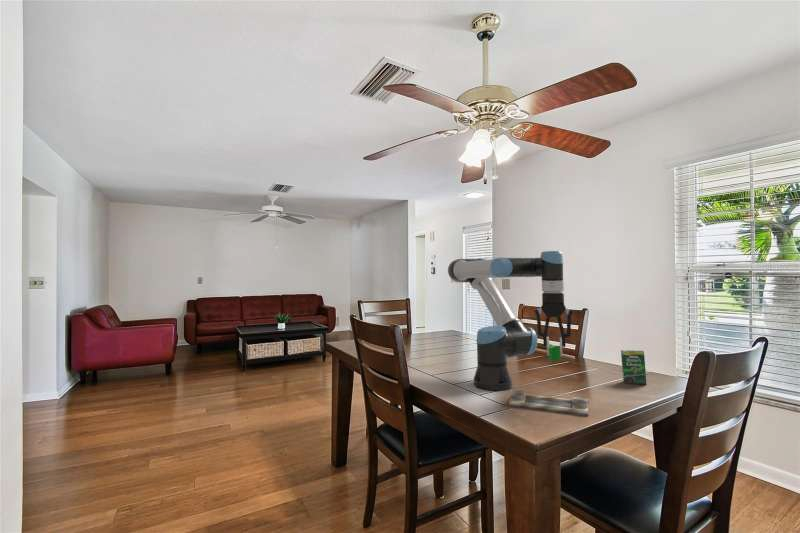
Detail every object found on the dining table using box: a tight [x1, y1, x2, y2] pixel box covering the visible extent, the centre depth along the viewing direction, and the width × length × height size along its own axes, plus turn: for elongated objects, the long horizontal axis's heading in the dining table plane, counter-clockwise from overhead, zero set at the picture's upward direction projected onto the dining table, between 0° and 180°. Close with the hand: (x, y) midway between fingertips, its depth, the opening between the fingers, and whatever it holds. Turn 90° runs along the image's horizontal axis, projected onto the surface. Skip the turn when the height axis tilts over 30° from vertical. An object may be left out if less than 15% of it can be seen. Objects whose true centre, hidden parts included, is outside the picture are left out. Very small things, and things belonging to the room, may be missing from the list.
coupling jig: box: [508, 390, 590, 417], centre depth 124 cm, size 25×10×4 cm, turn 65°
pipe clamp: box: [548, 343, 561, 363], centre depth 135 cm, size 11×4×5 cm, turn 157°
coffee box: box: [620, 349, 647, 385], centre depth 148 cm, size 8×3×13 cm, turn 63°
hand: (554, 355), depth 136 cm, fingers closed on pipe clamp, 4 cm apart
